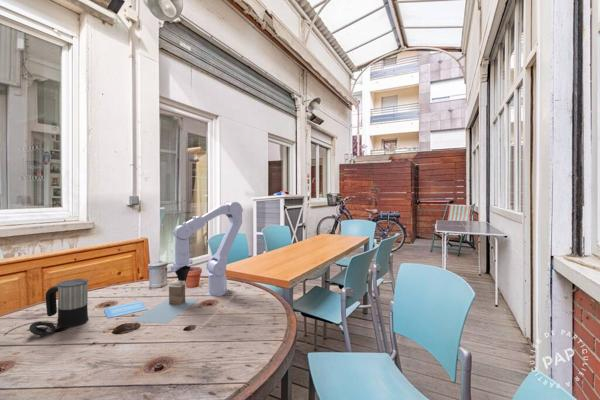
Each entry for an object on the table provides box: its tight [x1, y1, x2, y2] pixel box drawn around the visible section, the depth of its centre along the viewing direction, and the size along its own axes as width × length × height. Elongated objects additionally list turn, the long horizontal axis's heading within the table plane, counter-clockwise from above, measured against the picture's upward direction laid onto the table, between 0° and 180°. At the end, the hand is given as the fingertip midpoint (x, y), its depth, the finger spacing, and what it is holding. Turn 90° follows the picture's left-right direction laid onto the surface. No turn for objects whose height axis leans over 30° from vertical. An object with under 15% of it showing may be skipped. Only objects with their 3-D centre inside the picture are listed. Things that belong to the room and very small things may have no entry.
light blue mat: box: [131, 297, 199, 324], centre depth 119 cm, size 24×14×1 cm, turn 173°
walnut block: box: [168, 280, 186, 305], centre depth 126 cm, size 4×5×9 cm
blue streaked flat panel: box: [103, 300, 149, 319], centre depth 119 cm, size 14×12×1 cm
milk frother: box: [28, 278, 90, 337], centre depth 104 cm, size 14×16×15 cm
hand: (182, 283), depth 130 cm, fingers closed
